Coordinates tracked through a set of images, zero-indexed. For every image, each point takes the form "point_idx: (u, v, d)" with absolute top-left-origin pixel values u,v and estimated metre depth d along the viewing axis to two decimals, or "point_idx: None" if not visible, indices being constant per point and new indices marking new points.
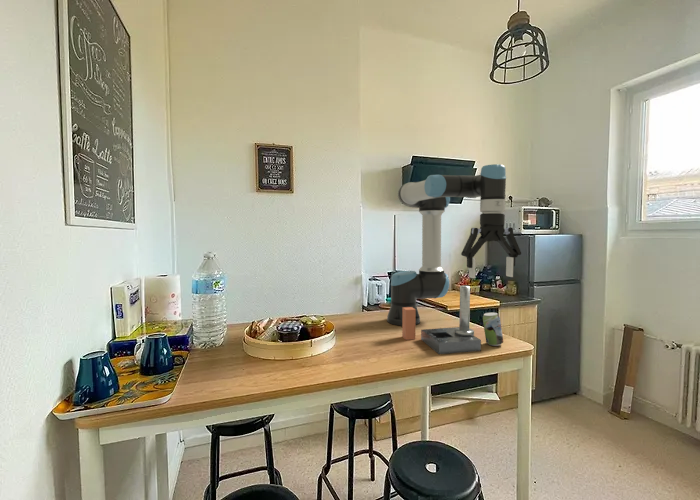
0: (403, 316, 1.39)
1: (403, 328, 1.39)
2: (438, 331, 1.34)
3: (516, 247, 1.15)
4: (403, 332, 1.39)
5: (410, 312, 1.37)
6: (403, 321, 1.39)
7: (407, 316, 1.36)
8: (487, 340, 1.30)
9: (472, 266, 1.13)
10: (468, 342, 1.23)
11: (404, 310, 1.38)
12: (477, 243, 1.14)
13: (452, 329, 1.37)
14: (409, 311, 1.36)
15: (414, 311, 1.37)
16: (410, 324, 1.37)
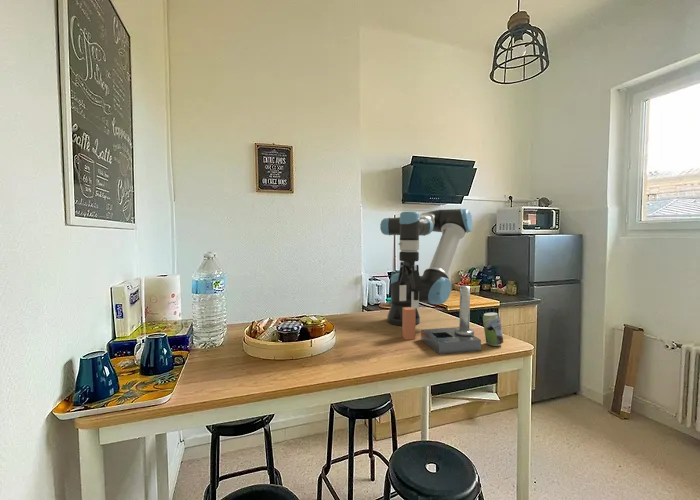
0: (403, 316, 1.39)
1: (403, 328, 1.39)
2: (438, 331, 1.34)
3: (413, 283, 1.29)
4: (403, 332, 1.39)
5: (410, 312, 1.37)
6: (403, 321, 1.39)
7: (407, 316, 1.36)
8: (487, 340, 1.30)
9: None
10: (468, 342, 1.23)
11: (404, 310, 1.38)
12: None
13: (452, 329, 1.37)
14: (409, 311, 1.36)
15: (414, 311, 1.37)
16: (410, 324, 1.37)
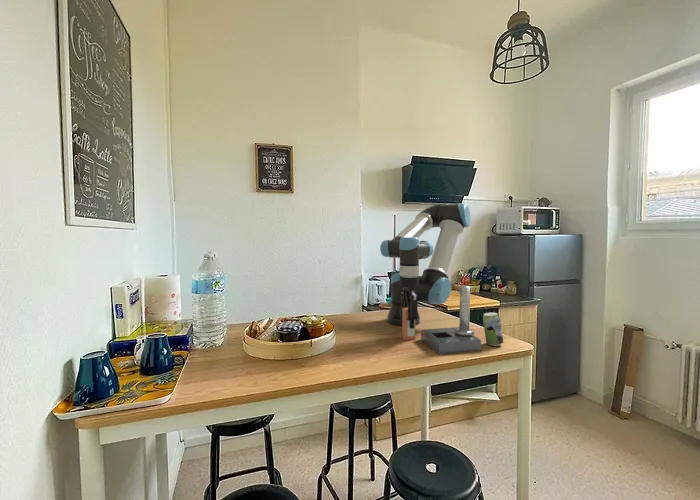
0: (403, 316, 1.39)
1: (403, 328, 1.39)
2: (438, 331, 1.34)
3: (410, 312, 1.33)
4: (403, 332, 1.39)
5: None
6: (403, 321, 1.39)
7: (407, 316, 1.36)
8: (487, 340, 1.30)
9: None
10: (468, 342, 1.23)
11: (404, 310, 1.38)
12: None
13: (452, 329, 1.37)
14: None
15: None
16: None
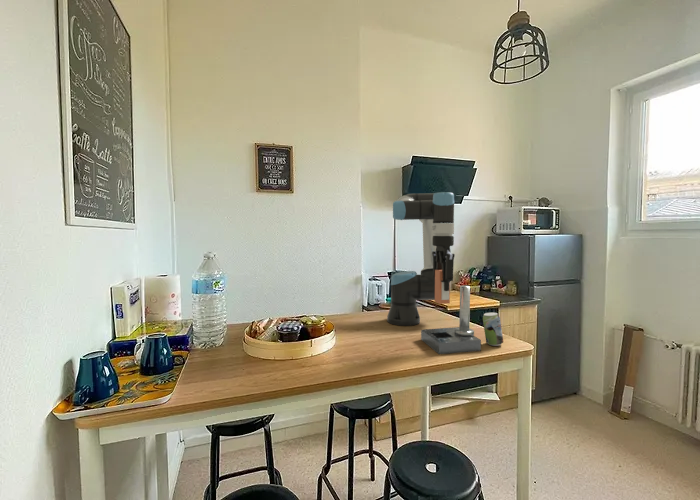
0: (436, 279, 1.29)
1: (436, 292, 1.29)
2: (438, 331, 1.34)
3: (445, 272, 1.23)
4: (436, 296, 1.29)
5: None
6: (436, 284, 1.29)
7: (441, 278, 1.26)
8: (487, 340, 1.30)
9: None
10: (468, 342, 1.23)
11: (437, 272, 1.27)
12: None
13: (452, 329, 1.37)
14: None
15: None
16: None
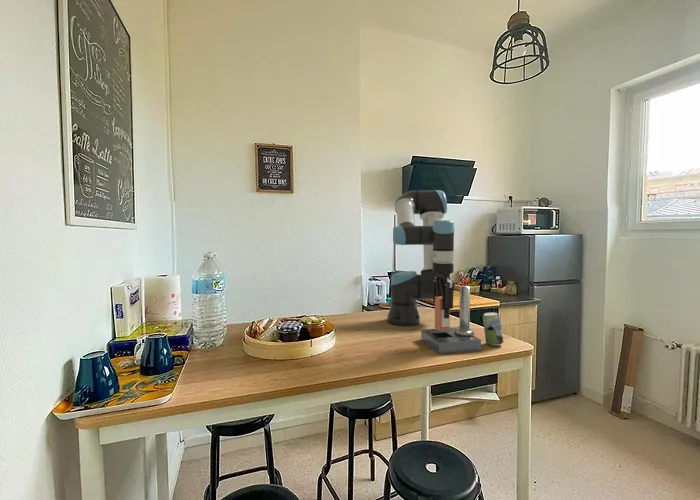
0: (436, 305, 1.29)
1: (436, 318, 1.30)
2: (438, 331, 1.34)
3: (445, 300, 1.24)
4: (436, 323, 1.30)
5: None
6: (436, 311, 1.30)
7: (441, 305, 1.27)
8: (487, 340, 1.30)
9: None
10: (468, 342, 1.23)
11: (437, 299, 1.28)
12: None
13: (452, 329, 1.37)
14: None
15: None
16: None
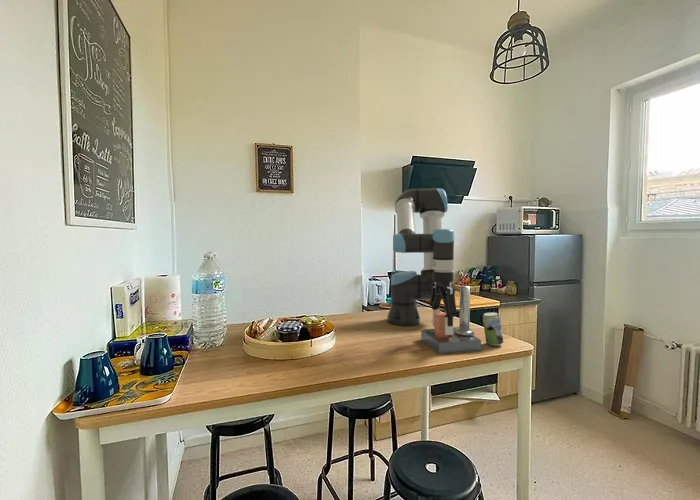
0: (436, 322, 1.30)
1: (435, 335, 1.30)
2: None
3: (448, 308, 1.22)
4: None
5: (443, 317, 1.28)
6: (435, 327, 1.30)
7: (440, 322, 1.28)
8: (487, 340, 1.30)
9: None
10: (468, 342, 1.23)
11: (437, 315, 1.29)
12: None
13: None
14: (442, 316, 1.28)
15: None
16: (443, 330, 1.28)
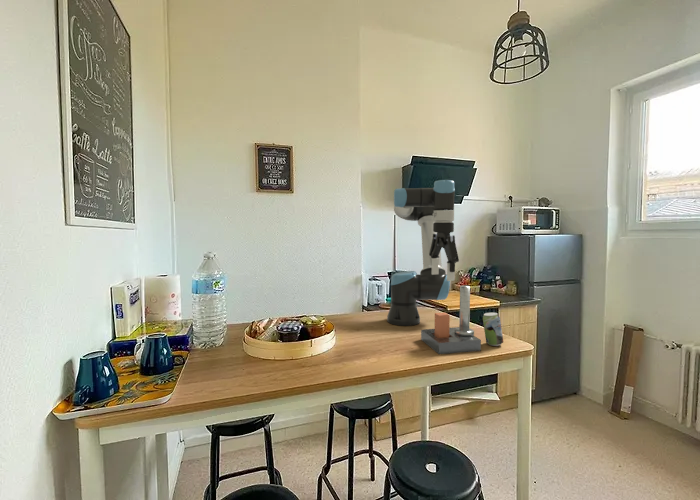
0: (436, 322, 1.30)
1: (436, 335, 1.30)
2: None
3: (450, 254, 1.24)
4: None
5: (444, 318, 1.28)
6: (436, 328, 1.30)
7: (441, 322, 1.27)
8: (487, 340, 1.30)
9: None
10: (468, 342, 1.23)
11: (437, 316, 1.29)
12: None
13: (452, 329, 1.37)
14: (443, 317, 1.27)
15: (448, 317, 1.28)
16: (443, 331, 1.28)
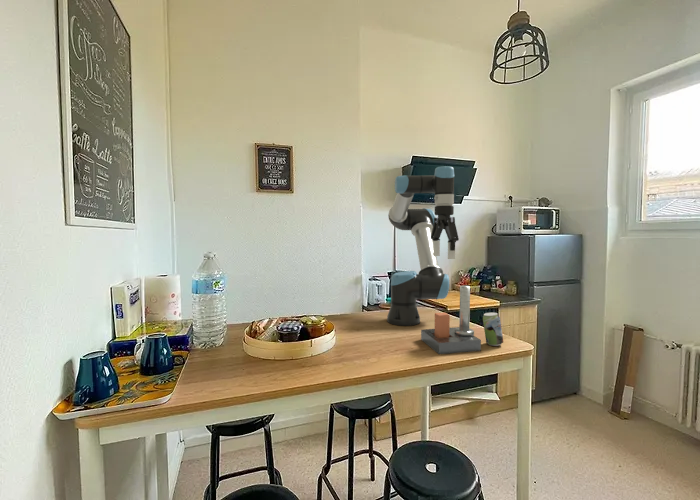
0: (436, 322, 1.30)
1: (436, 335, 1.30)
2: None
3: (450, 234, 1.34)
4: None
5: (444, 318, 1.28)
6: (436, 328, 1.30)
7: (441, 322, 1.27)
8: (487, 340, 1.30)
9: None
10: (468, 342, 1.23)
11: (437, 316, 1.29)
12: None
13: (452, 329, 1.37)
14: (443, 317, 1.27)
15: (448, 317, 1.28)
16: (443, 331, 1.28)
